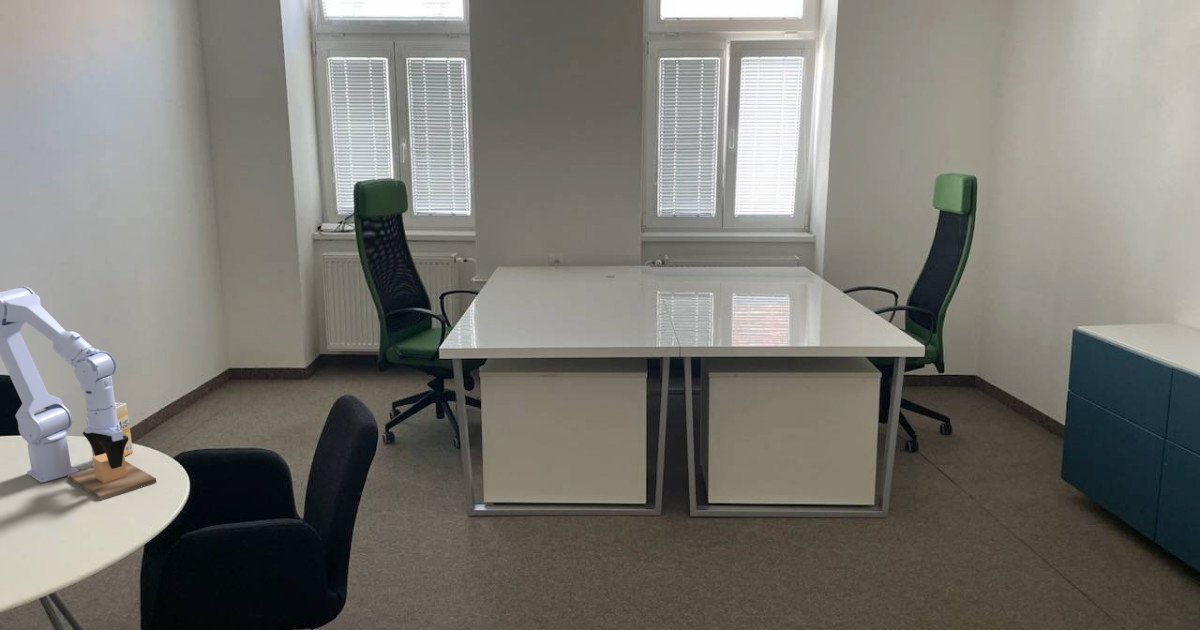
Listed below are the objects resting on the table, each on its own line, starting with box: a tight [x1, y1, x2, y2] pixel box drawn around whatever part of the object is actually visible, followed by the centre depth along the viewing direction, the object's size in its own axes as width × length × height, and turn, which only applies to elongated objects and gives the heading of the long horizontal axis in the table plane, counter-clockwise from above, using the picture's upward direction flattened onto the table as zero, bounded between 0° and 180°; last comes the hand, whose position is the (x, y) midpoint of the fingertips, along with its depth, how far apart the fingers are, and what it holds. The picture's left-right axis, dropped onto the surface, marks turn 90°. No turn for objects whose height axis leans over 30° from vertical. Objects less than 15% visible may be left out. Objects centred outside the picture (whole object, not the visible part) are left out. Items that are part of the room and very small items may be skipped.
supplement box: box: [86, 402, 134, 458], centre depth 217 cm, size 8×5×13 cm, turn 168°
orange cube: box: [92, 453, 127, 483], centre depth 205 cm, size 5×5×5 cm
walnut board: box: [67, 460, 157, 501], centre depth 206 cm, size 18×12×1 cm, turn 50°
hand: (109, 463), depth 205 cm, fingers open, 7 cm apart
